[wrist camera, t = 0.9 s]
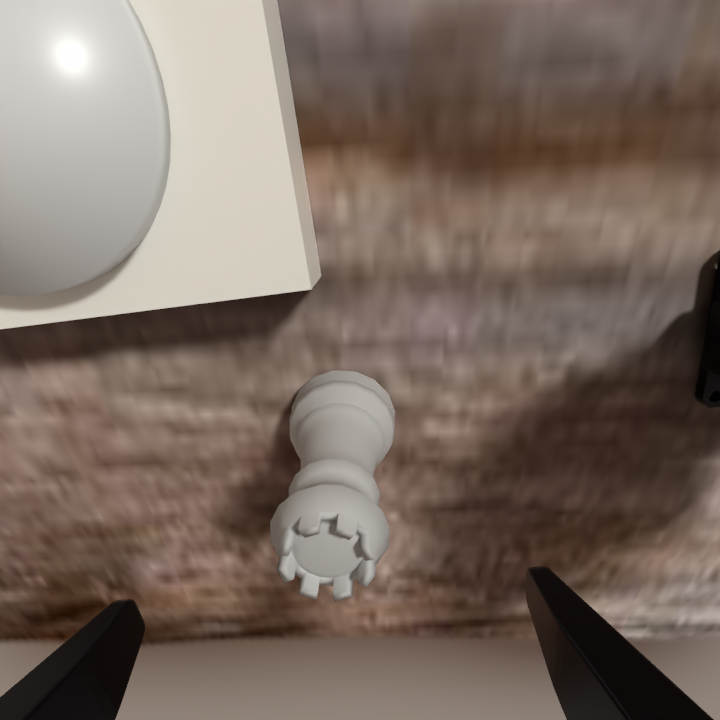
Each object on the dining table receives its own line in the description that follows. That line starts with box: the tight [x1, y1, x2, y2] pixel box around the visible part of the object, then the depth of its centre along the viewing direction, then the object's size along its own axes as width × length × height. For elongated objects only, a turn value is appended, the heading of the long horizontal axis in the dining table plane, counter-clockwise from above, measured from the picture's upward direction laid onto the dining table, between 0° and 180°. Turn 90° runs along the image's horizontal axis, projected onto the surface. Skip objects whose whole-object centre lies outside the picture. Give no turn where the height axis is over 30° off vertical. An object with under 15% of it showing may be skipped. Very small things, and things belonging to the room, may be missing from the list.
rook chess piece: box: [270, 370, 395, 601], centre depth 14 cm, size 4×4×8 cm
